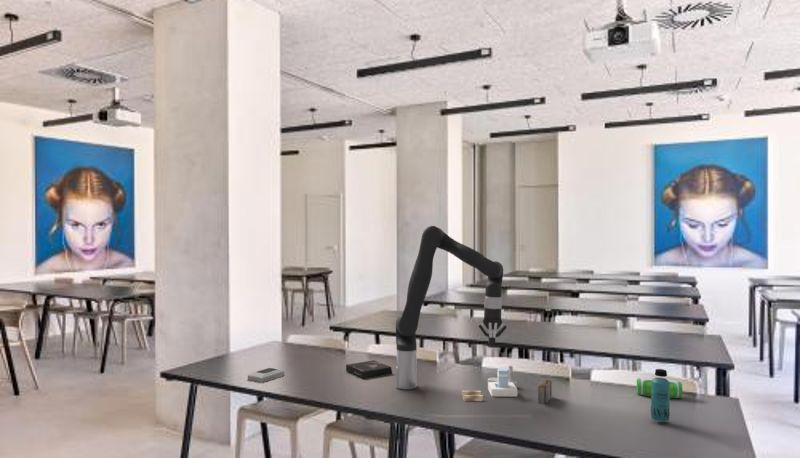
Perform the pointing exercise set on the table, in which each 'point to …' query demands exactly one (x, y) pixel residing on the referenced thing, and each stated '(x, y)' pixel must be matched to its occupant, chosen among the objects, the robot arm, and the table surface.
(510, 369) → the electronic device
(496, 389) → the socket
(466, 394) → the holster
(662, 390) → the beverage bottle
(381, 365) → the portable cd player
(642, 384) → the speaker
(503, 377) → the plug
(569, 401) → the table surface
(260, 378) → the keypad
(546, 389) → the marbled rust block
